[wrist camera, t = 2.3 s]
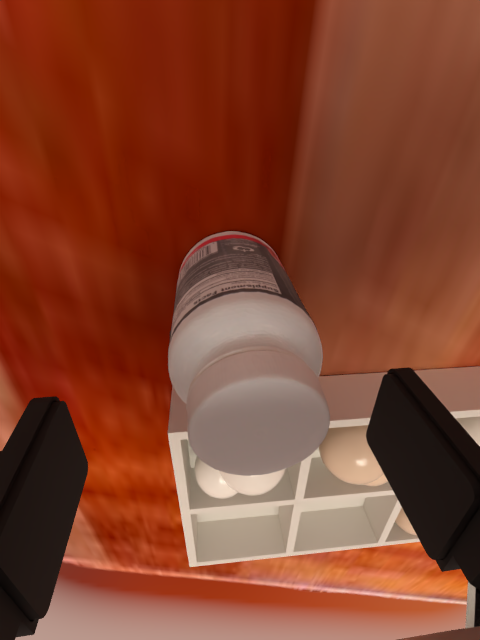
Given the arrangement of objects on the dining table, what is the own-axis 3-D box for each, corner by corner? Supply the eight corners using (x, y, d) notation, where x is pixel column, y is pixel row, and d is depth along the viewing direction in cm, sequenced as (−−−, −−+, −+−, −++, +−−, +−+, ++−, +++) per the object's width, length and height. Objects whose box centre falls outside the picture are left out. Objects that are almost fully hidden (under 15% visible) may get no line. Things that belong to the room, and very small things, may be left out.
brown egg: (297, 419, 23) (317, 481, 19) (353, 385, 21) (386, 444, 18) (343, 458, 26) (367, 517, 22) (394, 430, 25) (429, 488, 21)
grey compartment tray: (520, 363, 23) (569, 402, 20) (443, 494, 31) (469, 536, 28) (172, 385, 21) (167, 433, 18) (190, 519, 29) (189, 567, 26)
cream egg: (253, 393, 21) (263, 455, 17) (292, 426, 23) (309, 488, 19) (180, 440, 23) (174, 505, 19) (222, 467, 25) (225, 530, 21)
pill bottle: (286, 313, 19) (353, 473, 11) (192, 331, 19) (186, 504, 11) (277, 217, 16) (359, 337, 8) (165, 239, 16) (129, 381, 8)
